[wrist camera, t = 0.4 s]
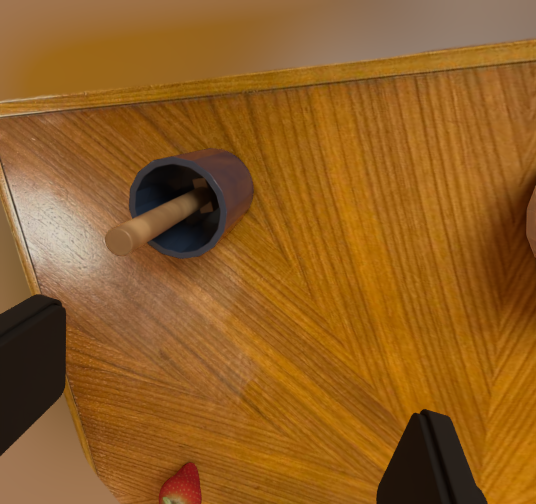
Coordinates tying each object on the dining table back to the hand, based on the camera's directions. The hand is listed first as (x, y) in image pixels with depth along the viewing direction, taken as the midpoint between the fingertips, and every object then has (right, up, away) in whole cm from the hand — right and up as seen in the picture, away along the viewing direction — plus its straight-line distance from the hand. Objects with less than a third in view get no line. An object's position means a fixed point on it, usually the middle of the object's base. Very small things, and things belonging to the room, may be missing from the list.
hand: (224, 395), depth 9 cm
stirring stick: (-4, +10, +25) cm, 27 cm away
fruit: (-9, -24, +39) cm, 46 cm away
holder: (-4, +10, +25) cm, 27 cm away
